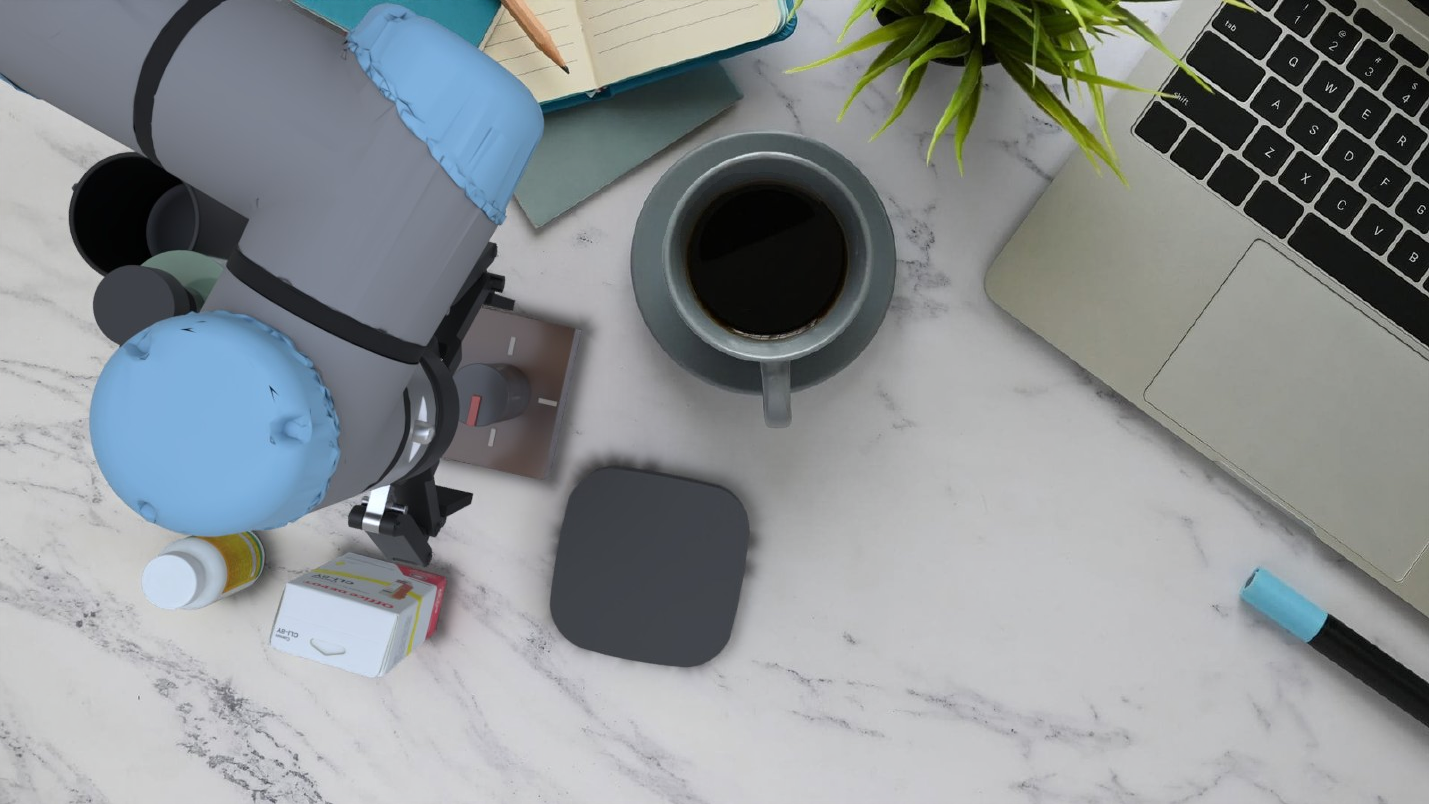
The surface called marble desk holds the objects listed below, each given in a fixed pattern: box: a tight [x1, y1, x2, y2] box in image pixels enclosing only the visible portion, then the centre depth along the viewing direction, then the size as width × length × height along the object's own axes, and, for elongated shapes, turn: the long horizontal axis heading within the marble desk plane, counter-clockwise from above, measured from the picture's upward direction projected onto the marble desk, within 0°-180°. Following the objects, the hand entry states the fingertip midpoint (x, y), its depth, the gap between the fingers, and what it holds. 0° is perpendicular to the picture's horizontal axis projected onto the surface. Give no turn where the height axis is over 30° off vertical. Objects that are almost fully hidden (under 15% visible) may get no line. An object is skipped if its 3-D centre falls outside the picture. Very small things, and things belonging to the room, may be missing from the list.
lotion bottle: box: [141, 250, 228, 313], centre depth 67 cm, size 7×7×23 cm
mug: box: [68, 151, 249, 278], centre depth 74 cm, size 9×12×9 cm
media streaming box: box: [549, 465, 751, 668], centre depth 78 cm, size 15×15×3 cm
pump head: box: [92, 265, 190, 348], centre depth 53 cm, size 7×4×2 cm, turn 167°
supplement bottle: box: [140, 530, 266, 611], centre depth 75 cm, size 5×5×10 cm
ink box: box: [267, 551, 448, 679], centre depth 74 cm, size 9×5×12 cm, turn 74°
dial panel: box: [441, 306, 582, 481], centre depth 77 cm, size 12×9×3 cm
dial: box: [453, 363, 530, 427], centre depth 72 cm, size 4×4×8 cm
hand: (474, 398), depth 68 cm, fingers open, 13 cm apart
